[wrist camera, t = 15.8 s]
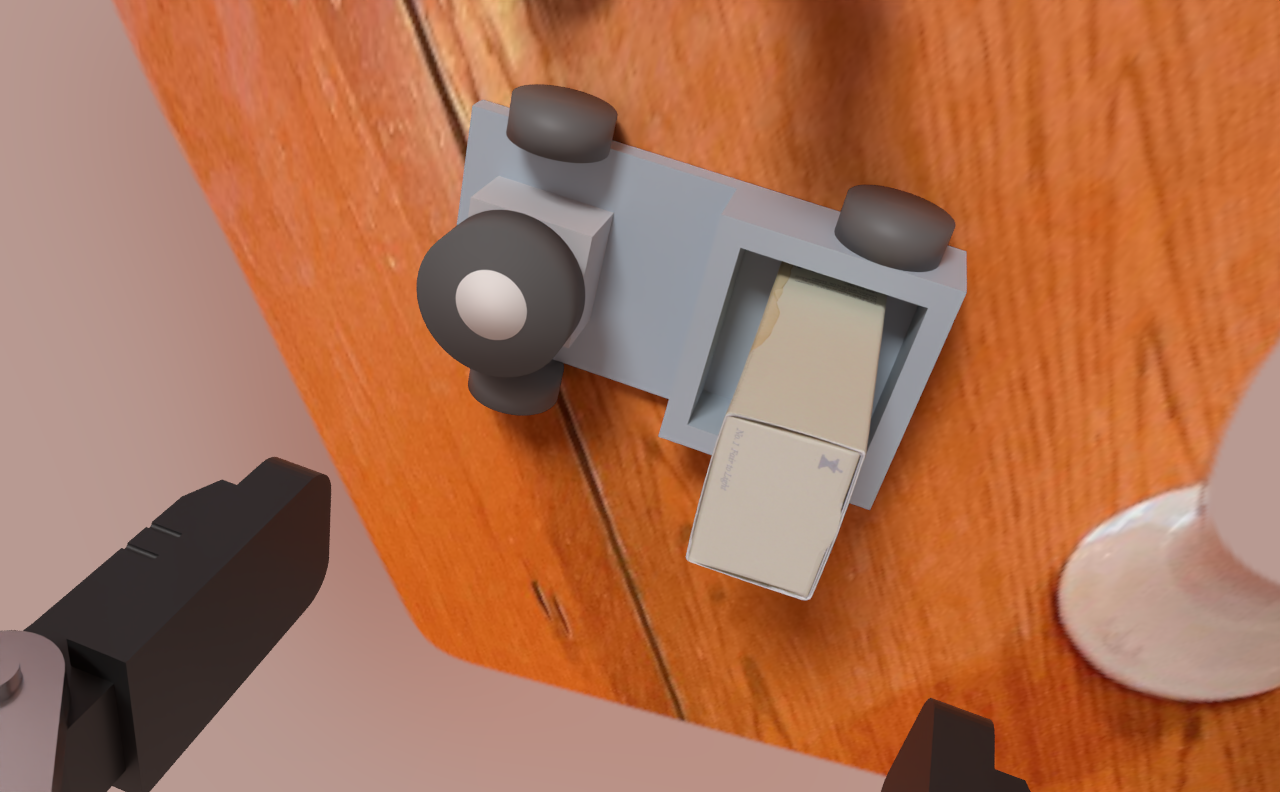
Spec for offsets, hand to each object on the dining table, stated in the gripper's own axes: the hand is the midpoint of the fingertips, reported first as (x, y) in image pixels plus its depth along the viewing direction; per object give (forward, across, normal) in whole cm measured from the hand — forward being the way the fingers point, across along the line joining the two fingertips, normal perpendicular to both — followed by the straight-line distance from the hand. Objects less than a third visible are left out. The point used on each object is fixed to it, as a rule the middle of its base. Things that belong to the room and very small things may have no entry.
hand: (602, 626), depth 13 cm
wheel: (+24, +10, +9) cm, 28 cm away
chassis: (+29, +4, +9) cm, 31 cm away
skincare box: (+28, -1, +9) cm, 30 cm away
